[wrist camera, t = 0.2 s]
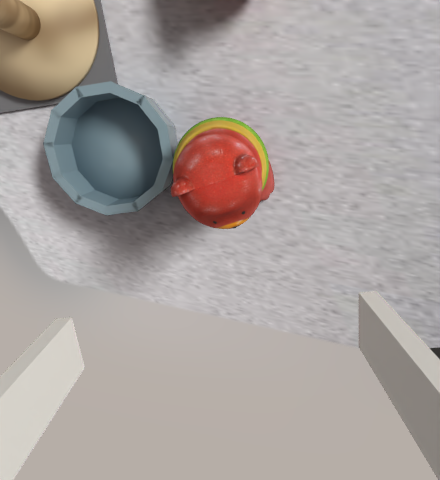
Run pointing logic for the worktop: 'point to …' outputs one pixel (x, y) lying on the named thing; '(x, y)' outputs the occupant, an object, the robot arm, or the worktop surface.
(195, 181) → the stacking bear
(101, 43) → the mat
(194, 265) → the worktop surface
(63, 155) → the bowl
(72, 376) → the robot arm
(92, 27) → the lid
